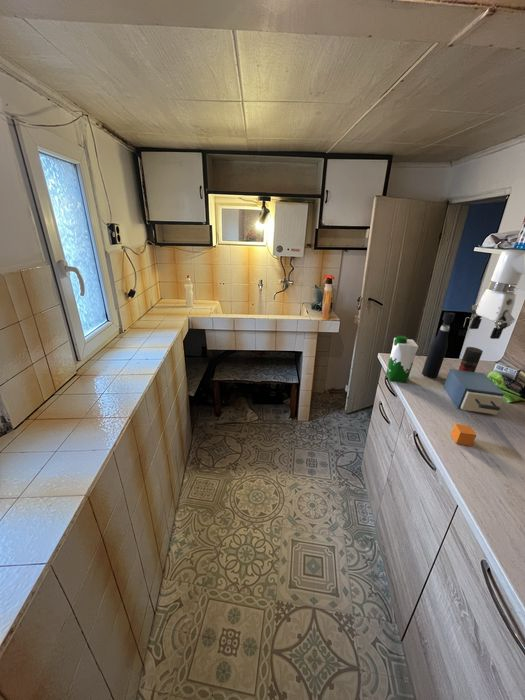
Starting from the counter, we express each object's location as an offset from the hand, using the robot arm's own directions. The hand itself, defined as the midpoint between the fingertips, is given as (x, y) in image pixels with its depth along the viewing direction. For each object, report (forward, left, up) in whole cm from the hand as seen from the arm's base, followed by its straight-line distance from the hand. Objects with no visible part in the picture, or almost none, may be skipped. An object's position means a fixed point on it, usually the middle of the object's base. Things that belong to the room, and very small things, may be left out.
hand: (483, 333), depth 105 cm
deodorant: (-7, -15, -28) cm, 32 cm away
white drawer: (-2, +8, -26) cm, 28 cm away
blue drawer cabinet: (-2, +3, -27) cm, 28 cm away
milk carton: (+23, -7, -28) cm, 37 cm away
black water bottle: (+7, -15, -27) cm, 32 cm away
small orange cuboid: (+10, +30, -27) cm, 42 cm away
